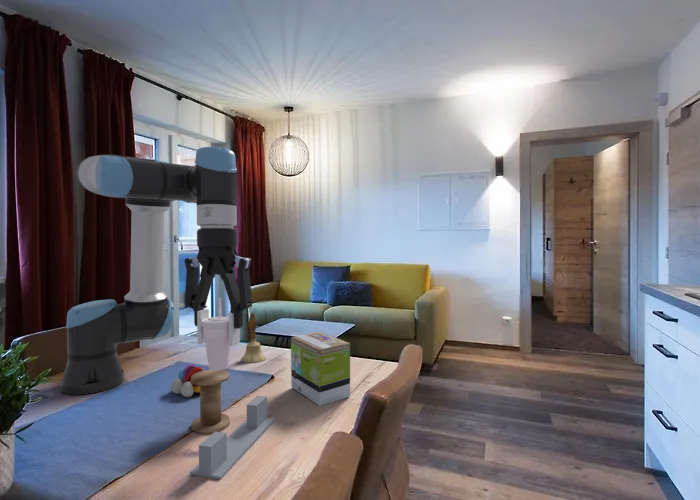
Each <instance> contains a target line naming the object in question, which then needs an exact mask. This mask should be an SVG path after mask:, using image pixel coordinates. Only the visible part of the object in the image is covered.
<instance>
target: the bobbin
mask: <svg viewBox="0 0 700 500" xmlns="http://www.w3.org/2000/svg"><path fill="white" fill-rule="evenodd" d="M229 379H230V371H228V370H227V369H224V370H219V371H212V370H209V369H206V370H204V369H203V371H200V372H197V373H195V374H193V375H192V376H191V382H192V383H193V384H195V385H200V392H199V400H200V401H199V406H200V407H199V410H200V411H199V412H200V413H199V416H198V417H197V418H195V419H194V420H193V421H192V422H191V430H192V431H193V433H195V434H200V435H207V434H208V435H209V434H213V433H214V432H215V431H216V432H221V431H223V430H225V429H226V428H228V426H230V423H231V422H230V421H231V419H230V416H229V415H227V414H225V413H222V384H223V383H224V382H226V381H228V380H229Z"/></svg>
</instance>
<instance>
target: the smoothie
mask: <svg viewBox="0 0 700 500" xmlns="http://www.w3.org/2000/svg"><path fill="white" fill-rule="evenodd" d="M201 326H202V327H203V332H204V339H205V343H204V344H205V351H206V357H207V363H208V370H212V371H219V370H227V369H228V368H229V365H230V359H231V358H230V357H231V348H232V346H229V316H223V310H222V297H218V316H212V317H209V318H206V319H203V320H202V321H201Z"/></svg>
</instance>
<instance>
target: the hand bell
mask: <svg viewBox="0 0 700 500" xmlns="http://www.w3.org/2000/svg"><path fill="white" fill-rule="evenodd" d="M248 327H249V330H250V341H249V342H248V343H247V344H246V349H245V353H244V354H243V355H242V357H241V358H240V361H241V362H243V363H247V364H254V363H255V364H256V363H260V362H263V361H265V360H266V358H267V357H266V355H265V354H264V353H263V352H262V349H261V343H260V342H258V341H257V338H256V337H257V336H256V329H257V317H256V314H255V312H250V315H249V318H248Z"/></svg>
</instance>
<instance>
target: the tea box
mask: <svg viewBox="0 0 700 500" xmlns="http://www.w3.org/2000/svg"><path fill="white" fill-rule="evenodd" d="M290 363H291V364H290V371H291V374H290V375H291V379H290V381H291V389H294V390H295V391H297V392H299V393H300V394H301V395H303V396H305V398H307V399H309V400H310V401H312V403H315V404H316V405H317V406H319V407H322V406H325V405H328V404H331V403H335V402H338V401H340V400H341V401H342V400H344V399H346V397H347V398H349V397H350V396H351V343H350V342H347V341H345V340H343V339H340V338H338V337H334V336H332V335H330V334H328V333H324V332H322V331H315V332H311V333H306V334H301V335H295V336H290Z"/></svg>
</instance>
